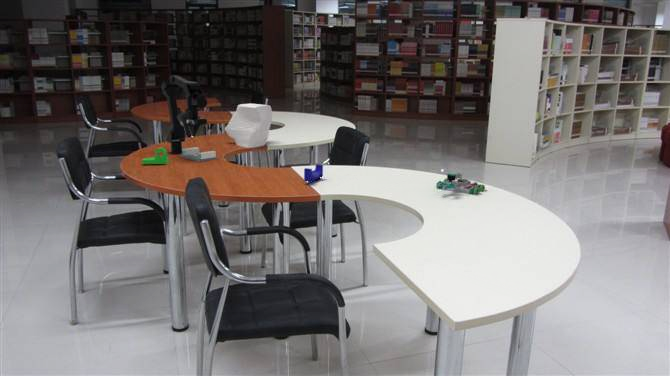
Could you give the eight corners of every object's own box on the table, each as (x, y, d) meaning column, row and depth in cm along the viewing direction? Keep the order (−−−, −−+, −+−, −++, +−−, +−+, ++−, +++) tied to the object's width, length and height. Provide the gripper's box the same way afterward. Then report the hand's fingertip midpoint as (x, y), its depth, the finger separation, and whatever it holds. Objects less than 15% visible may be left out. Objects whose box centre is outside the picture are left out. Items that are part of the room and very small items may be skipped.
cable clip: (314, 176, 258) (314, 163, 256) (322, 177, 256) (322, 164, 254) (301, 181, 248) (301, 168, 246) (310, 182, 246) (310, 169, 244)
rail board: (180, 156, 297) (179, 149, 296) (199, 154, 305) (198, 146, 304) (198, 161, 285) (198, 153, 284) (218, 159, 293) (218, 151, 292)
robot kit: (422, 196, 226) (423, 174, 224) (448, 185, 246) (449, 165, 243) (464, 204, 215) (466, 181, 213) (488, 192, 235) (490, 171, 233)
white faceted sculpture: (251, 151, 317) (250, 107, 311) (223, 145, 335) (222, 103, 329) (279, 148, 332) (278, 105, 326) (251, 142, 350) (250, 101, 344)
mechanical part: (168, 161, 285) (168, 146, 283) (166, 163, 279) (165, 148, 277) (145, 161, 284) (144, 146, 282) (142, 163, 278) (141, 148, 276)
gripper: (169, 106, 288) (171, 135, 291) (188, 109, 275) (189, 139, 279) (188, 105, 295) (189, 133, 299) (207, 107, 283) (208, 137, 286)
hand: (193, 136), depth 291 cm, fingers closed
